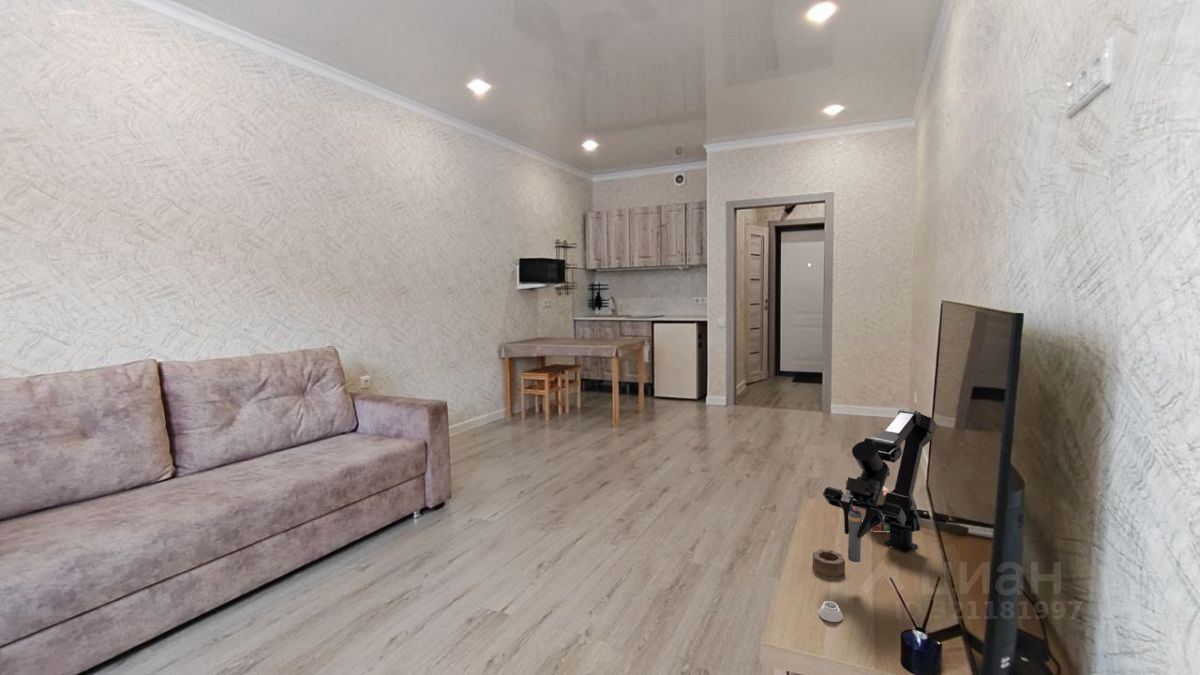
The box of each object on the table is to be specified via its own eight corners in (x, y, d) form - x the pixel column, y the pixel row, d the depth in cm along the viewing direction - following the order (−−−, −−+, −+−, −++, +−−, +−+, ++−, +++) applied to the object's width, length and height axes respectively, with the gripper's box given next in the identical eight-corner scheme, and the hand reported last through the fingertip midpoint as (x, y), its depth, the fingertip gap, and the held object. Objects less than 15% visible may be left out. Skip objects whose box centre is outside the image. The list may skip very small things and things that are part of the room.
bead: (824, 559, 148) (824, 547, 148) (849, 570, 142) (849, 558, 142) (807, 567, 144) (807, 554, 144) (832, 579, 138) (832, 566, 138)
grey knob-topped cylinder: (854, 555, 136) (854, 509, 135) (863, 560, 133) (864, 514, 132) (844, 557, 135) (845, 511, 134) (854, 563, 132) (855, 516, 131)
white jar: (835, 609, 125) (814, 611, 125) (835, 597, 125) (814, 599, 125) (846, 623, 120) (825, 624, 120) (847, 610, 120) (825, 612, 120)
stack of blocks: (845, 505, 184) (846, 470, 183) (864, 505, 184) (865, 470, 183) (872, 533, 163) (873, 494, 162) (893, 533, 163) (894, 494, 161)
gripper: (826, 456, 142) (805, 509, 136) (902, 473, 128) (882, 533, 121) (840, 478, 148) (820, 529, 141) (914, 496, 133) (895, 554, 127)
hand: (852, 535), depth 133 cm, fingers closed on grey knob-topped cylinder, 3 cm apart
